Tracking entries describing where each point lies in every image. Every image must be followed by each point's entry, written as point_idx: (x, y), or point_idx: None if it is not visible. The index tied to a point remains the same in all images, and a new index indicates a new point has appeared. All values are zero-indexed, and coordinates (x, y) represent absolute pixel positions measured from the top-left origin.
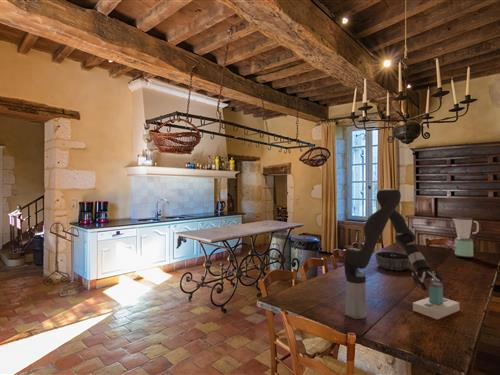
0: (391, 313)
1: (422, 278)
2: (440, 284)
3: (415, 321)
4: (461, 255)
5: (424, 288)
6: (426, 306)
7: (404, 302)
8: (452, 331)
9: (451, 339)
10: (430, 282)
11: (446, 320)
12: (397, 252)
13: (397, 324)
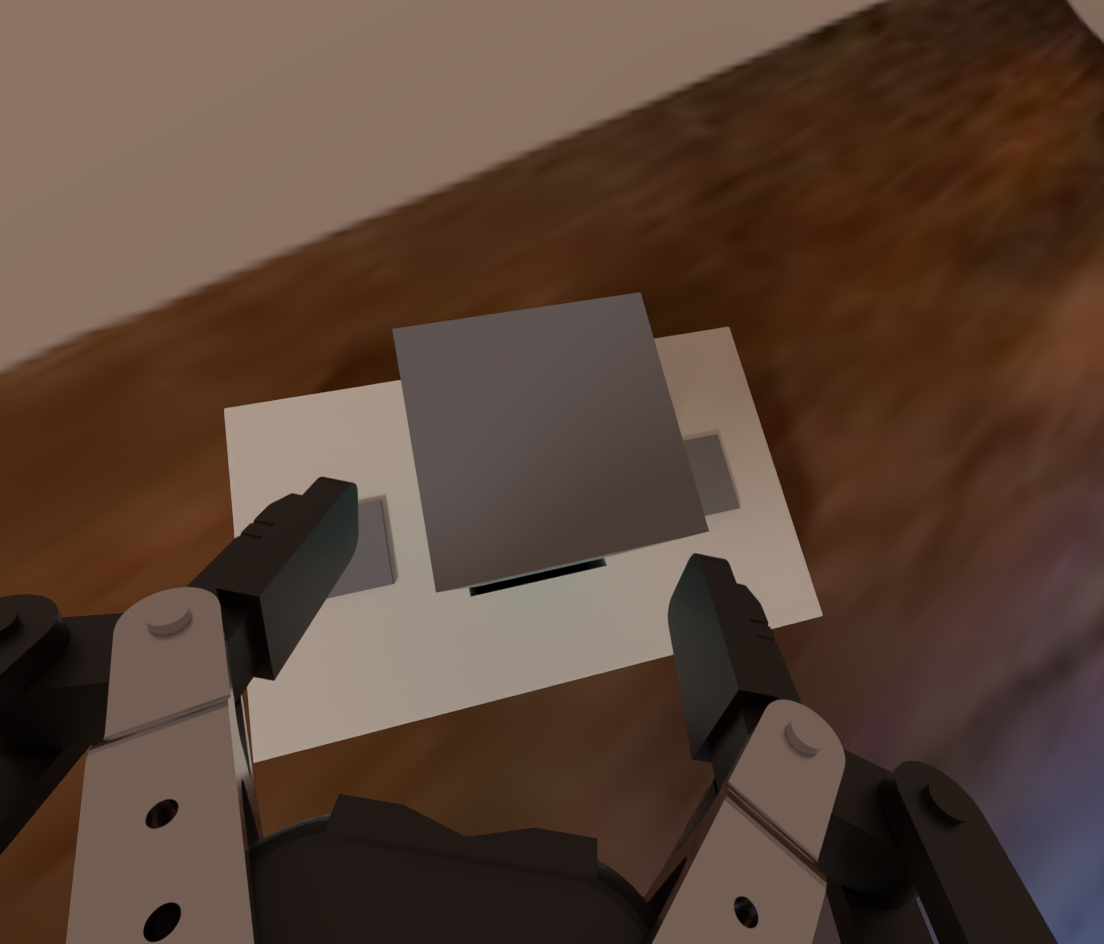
0: (1027, 621)
1: (779, 839)
2: (506, 314)
3: (906, 406)
4: None
5: (742, 587)
6: (742, 462)
7: None
8: (745, 192)
9: (843, 130)
10: (634, 543)
11: None
12: None
13: (1085, 416)
